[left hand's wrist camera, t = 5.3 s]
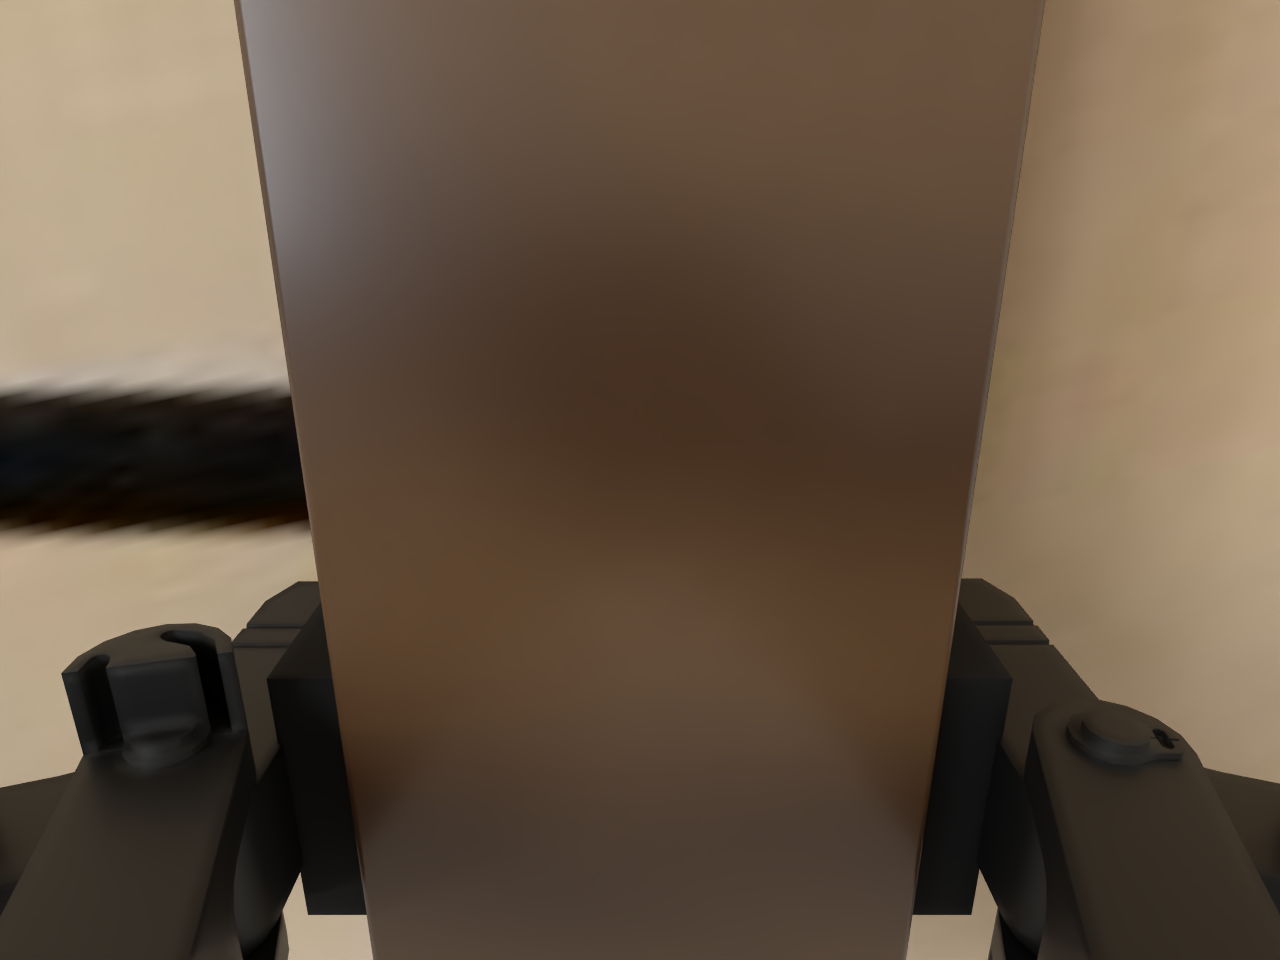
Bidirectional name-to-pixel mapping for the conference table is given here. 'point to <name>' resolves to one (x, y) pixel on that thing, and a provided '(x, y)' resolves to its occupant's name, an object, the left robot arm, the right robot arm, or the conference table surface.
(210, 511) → the conference table surface
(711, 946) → the bar
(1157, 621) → the conference table surface
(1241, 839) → the left robot arm
